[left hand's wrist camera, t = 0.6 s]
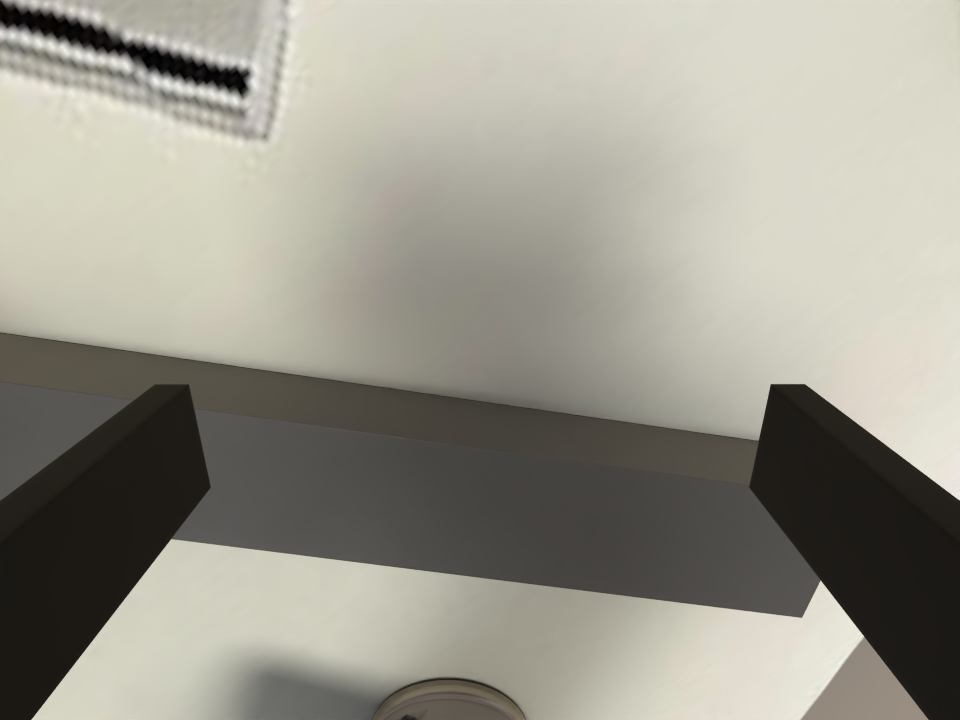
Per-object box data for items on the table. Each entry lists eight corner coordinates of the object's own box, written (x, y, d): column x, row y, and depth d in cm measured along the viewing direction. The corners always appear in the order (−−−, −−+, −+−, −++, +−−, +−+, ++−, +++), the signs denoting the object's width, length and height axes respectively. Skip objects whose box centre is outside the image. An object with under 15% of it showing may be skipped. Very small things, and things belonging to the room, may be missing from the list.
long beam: (805, 447, 42) (860, 500, 36) (759, 554, 45) (802, 618, 39) (-284, 291, 37) (-432, 322, 31) (-236, 423, 41) (-360, 473, 35)
